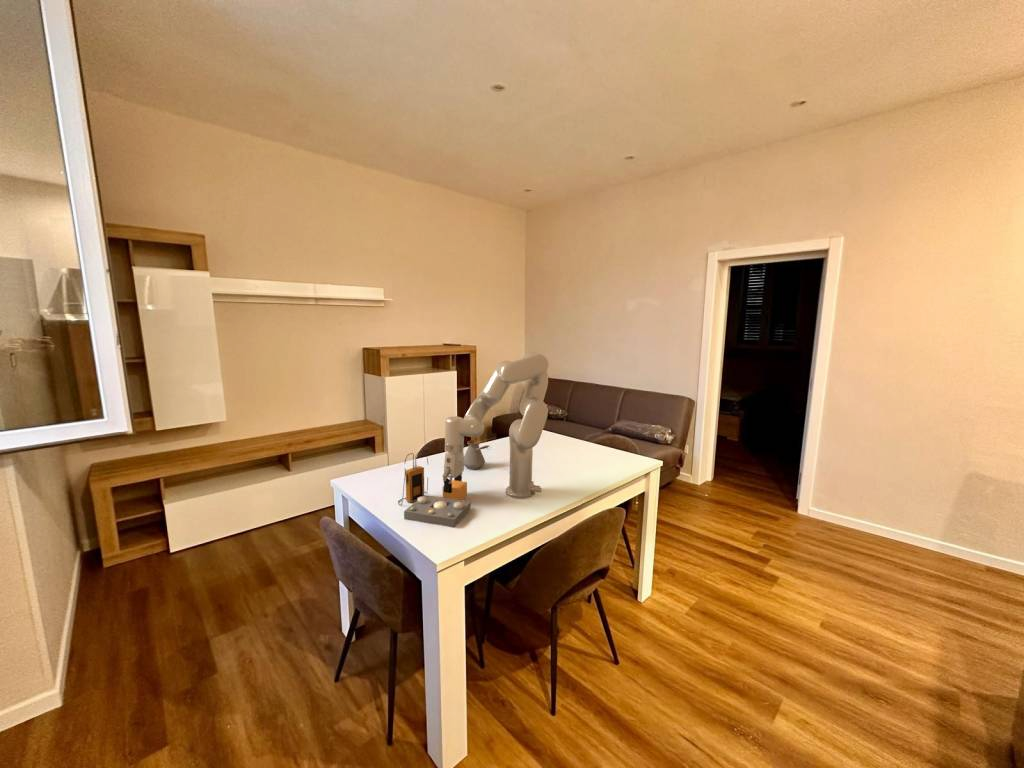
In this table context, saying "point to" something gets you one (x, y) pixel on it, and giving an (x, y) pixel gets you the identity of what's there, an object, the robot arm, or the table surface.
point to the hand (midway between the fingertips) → (452, 488)
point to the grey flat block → (437, 511)
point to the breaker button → (440, 505)
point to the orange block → (457, 490)
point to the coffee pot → (474, 455)
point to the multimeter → (414, 482)
